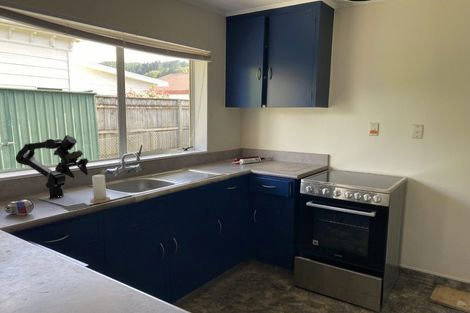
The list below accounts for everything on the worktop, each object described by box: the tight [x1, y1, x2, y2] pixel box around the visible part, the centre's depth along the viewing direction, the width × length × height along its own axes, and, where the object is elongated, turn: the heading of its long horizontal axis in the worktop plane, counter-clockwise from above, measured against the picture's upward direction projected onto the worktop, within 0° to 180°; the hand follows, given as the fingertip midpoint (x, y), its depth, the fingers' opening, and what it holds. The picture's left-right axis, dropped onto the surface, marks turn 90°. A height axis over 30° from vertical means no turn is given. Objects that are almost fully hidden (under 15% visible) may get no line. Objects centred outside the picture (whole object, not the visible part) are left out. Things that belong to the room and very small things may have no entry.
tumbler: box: [91, 174, 107, 201], centre depth 184 cm, size 6×6×13 cm
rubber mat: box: [61, 202, 92, 212], centre depth 173 cm, size 11×11×1 cm
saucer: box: [90, 196, 111, 204], centre depth 185 cm, size 10×10×1 cm
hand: (80, 176), depth 189 cm, fingers open, 9 cm apart
